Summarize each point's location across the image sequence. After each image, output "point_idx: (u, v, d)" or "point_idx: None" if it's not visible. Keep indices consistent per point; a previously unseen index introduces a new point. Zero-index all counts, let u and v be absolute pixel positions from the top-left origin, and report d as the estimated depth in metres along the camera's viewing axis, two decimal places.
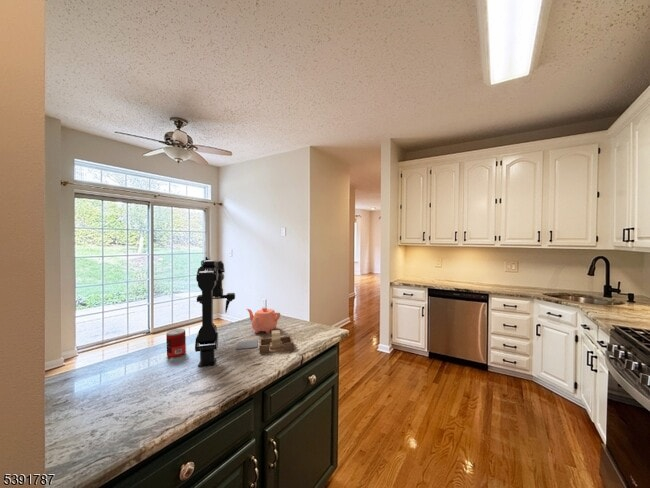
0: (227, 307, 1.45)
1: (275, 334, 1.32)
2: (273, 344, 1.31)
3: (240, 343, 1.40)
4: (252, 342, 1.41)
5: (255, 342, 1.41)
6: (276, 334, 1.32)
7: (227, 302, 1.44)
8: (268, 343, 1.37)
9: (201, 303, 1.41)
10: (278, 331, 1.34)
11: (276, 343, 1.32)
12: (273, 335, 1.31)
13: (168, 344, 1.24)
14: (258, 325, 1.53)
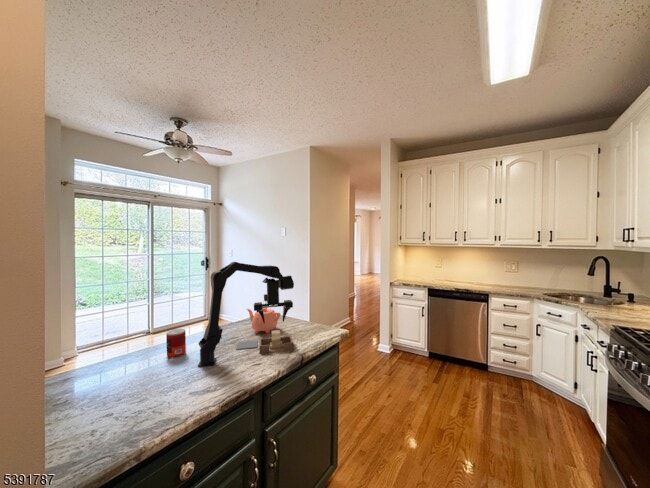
0: None
1: (275, 334, 1.32)
2: (273, 344, 1.31)
3: (240, 343, 1.40)
4: (252, 342, 1.41)
5: (255, 342, 1.41)
6: (276, 334, 1.32)
7: (285, 310, 1.33)
8: (268, 343, 1.37)
9: (259, 312, 1.30)
10: (278, 331, 1.34)
11: (276, 343, 1.32)
12: (273, 335, 1.31)
13: (168, 344, 1.24)
14: (258, 325, 1.53)
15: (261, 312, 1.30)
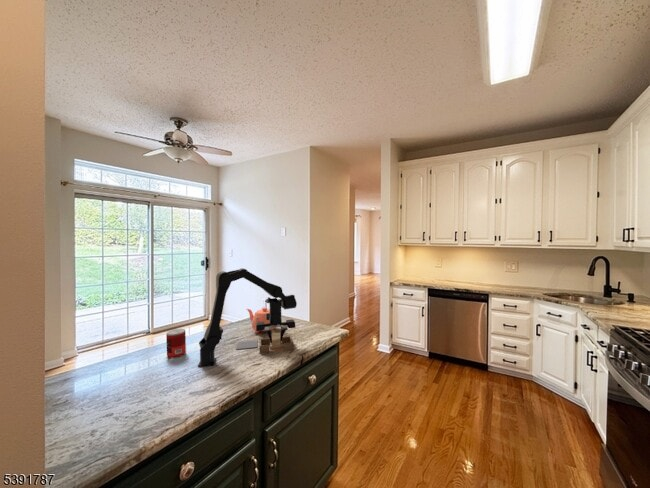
0: (282, 336, 1.33)
1: (275, 334, 1.32)
2: (273, 344, 1.31)
3: (240, 343, 1.40)
4: (252, 342, 1.41)
5: (255, 342, 1.41)
6: (276, 334, 1.32)
7: (283, 331, 1.32)
8: (268, 343, 1.37)
9: None
10: (278, 331, 1.34)
11: (276, 343, 1.32)
12: (273, 335, 1.31)
13: (168, 344, 1.24)
14: None
15: (268, 332, 1.30)
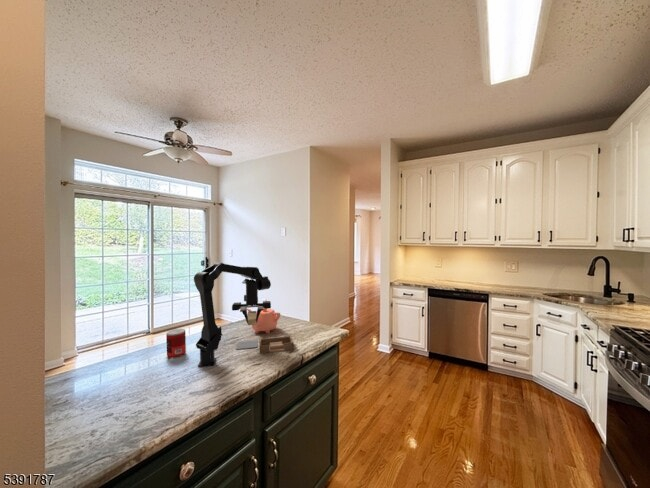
0: (258, 316, 1.36)
1: (251, 314, 1.35)
2: (249, 324, 1.35)
3: (240, 343, 1.40)
4: (252, 342, 1.41)
5: (255, 342, 1.41)
6: (252, 314, 1.35)
7: (258, 311, 1.35)
8: (268, 343, 1.37)
9: (242, 311, 1.33)
10: (254, 311, 1.37)
11: (252, 323, 1.35)
12: (249, 315, 1.35)
13: (168, 344, 1.24)
14: (258, 325, 1.53)
15: (244, 312, 1.34)
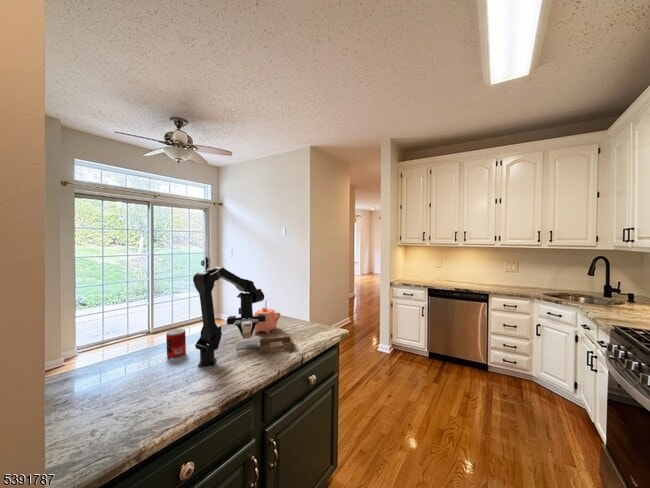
0: None
1: (246, 327, 1.36)
2: (244, 337, 1.36)
3: (240, 343, 1.40)
4: (252, 342, 1.41)
5: (255, 342, 1.41)
6: (247, 327, 1.36)
7: (253, 324, 1.36)
8: (268, 343, 1.37)
9: (237, 325, 1.34)
10: (249, 325, 1.38)
11: (247, 336, 1.36)
12: (244, 328, 1.36)
13: (168, 344, 1.24)
14: (258, 325, 1.53)
15: (239, 325, 1.35)
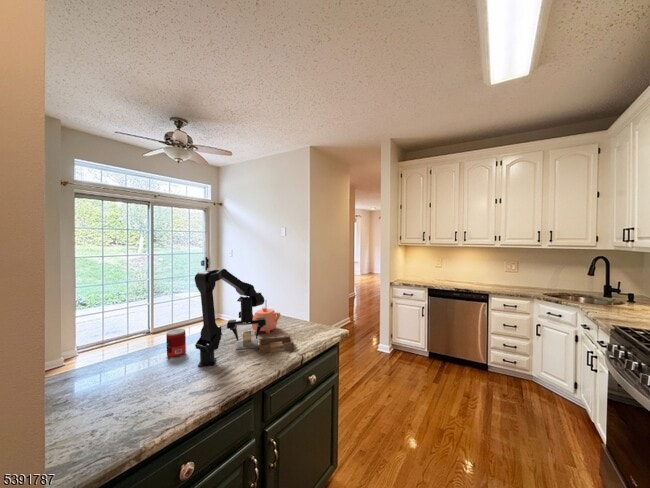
0: (258, 333, 1.38)
1: (246, 335, 1.36)
2: (244, 344, 1.36)
3: (240, 343, 1.40)
4: (252, 342, 1.41)
5: (255, 342, 1.41)
6: (247, 335, 1.36)
7: (258, 328, 1.37)
8: (268, 343, 1.37)
9: (232, 330, 1.34)
10: (249, 332, 1.39)
11: (247, 343, 1.36)
12: (244, 336, 1.36)
13: (168, 344, 1.24)
14: None
15: (234, 330, 1.34)
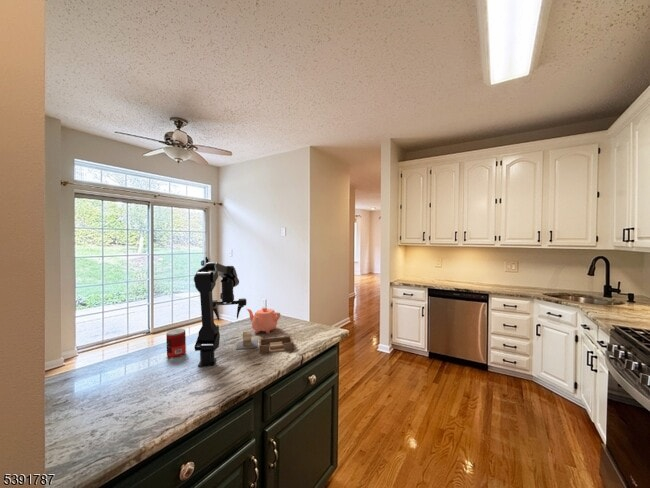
0: (238, 313, 1.42)
1: (246, 335, 1.36)
2: (244, 344, 1.36)
3: (240, 343, 1.40)
4: (252, 342, 1.41)
5: (255, 342, 1.41)
6: (247, 335, 1.36)
7: (239, 308, 1.41)
8: (268, 343, 1.37)
9: (212, 309, 1.38)
10: (249, 332, 1.39)
11: (247, 343, 1.36)
12: (244, 336, 1.36)
13: (168, 344, 1.24)
14: (258, 325, 1.53)
15: (215, 309, 1.38)
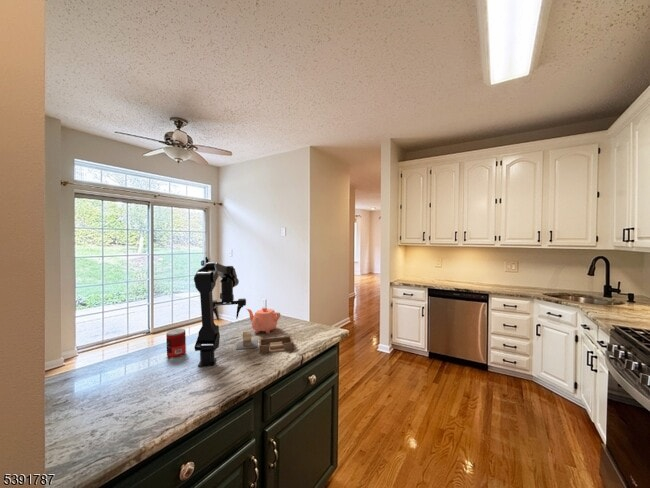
0: (238, 313, 1.42)
1: (246, 335, 1.36)
2: (244, 344, 1.36)
3: (240, 343, 1.40)
4: (252, 342, 1.41)
5: (255, 342, 1.41)
6: (247, 335, 1.36)
7: (238, 308, 1.41)
8: (268, 343, 1.37)
9: None
10: (249, 332, 1.39)
11: (247, 343, 1.36)
12: (244, 336, 1.36)
13: (168, 344, 1.24)
14: (258, 325, 1.53)
15: (214, 309, 1.38)
